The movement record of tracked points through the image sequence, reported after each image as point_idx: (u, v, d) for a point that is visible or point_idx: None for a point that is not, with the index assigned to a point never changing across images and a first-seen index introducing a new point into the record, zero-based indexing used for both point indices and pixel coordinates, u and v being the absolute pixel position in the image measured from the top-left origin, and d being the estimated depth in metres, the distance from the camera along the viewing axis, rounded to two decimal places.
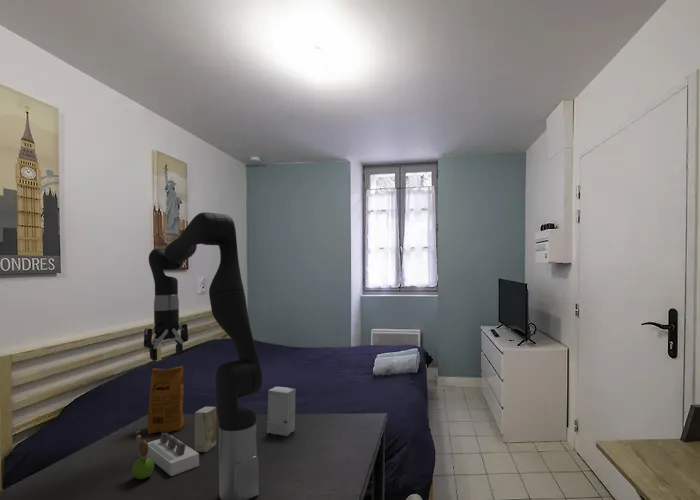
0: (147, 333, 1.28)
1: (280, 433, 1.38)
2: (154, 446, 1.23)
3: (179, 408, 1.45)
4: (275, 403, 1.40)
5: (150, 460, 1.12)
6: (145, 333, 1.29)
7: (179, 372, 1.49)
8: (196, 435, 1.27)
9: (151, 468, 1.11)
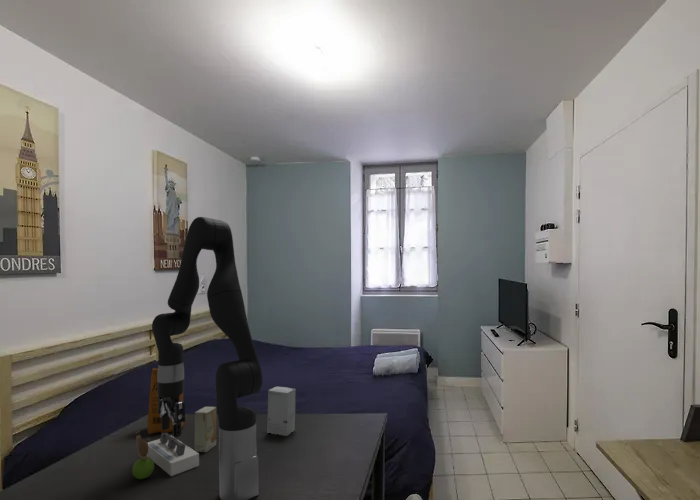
0: (182, 406, 1.19)
1: (280, 433, 1.38)
2: (154, 446, 1.23)
3: None
4: (275, 403, 1.40)
5: (150, 460, 1.12)
6: (178, 408, 1.18)
7: None
8: (196, 435, 1.27)
9: (151, 468, 1.11)
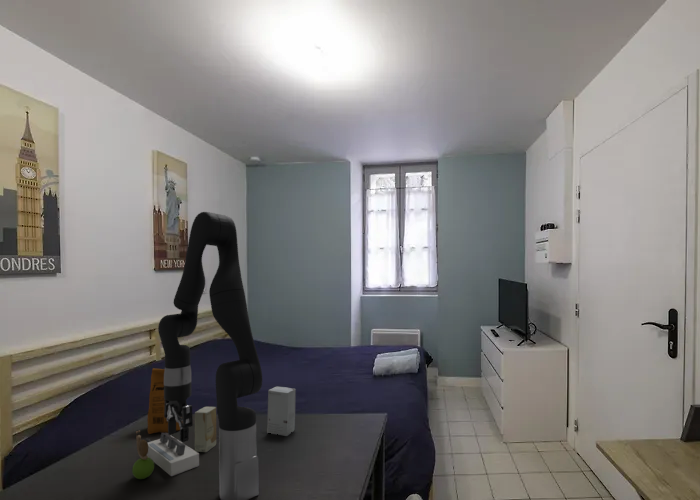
0: (190, 410, 1.15)
1: (280, 433, 1.38)
2: (154, 446, 1.23)
3: None
4: (275, 403, 1.40)
5: (150, 460, 1.12)
6: (186, 412, 1.14)
7: None
8: (196, 435, 1.27)
9: (151, 468, 1.11)
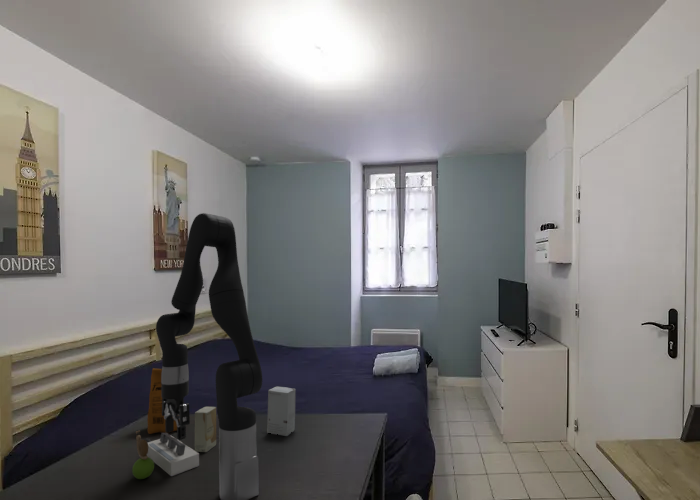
0: (187, 409, 1.16)
1: (280, 433, 1.38)
2: (154, 446, 1.23)
3: None
4: (275, 403, 1.40)
5: (150, 460, 1.12)
6: (183, 410, 1.15)
7: None
8: (196, 435, 1.27)
9: (151, 468, 1.11)
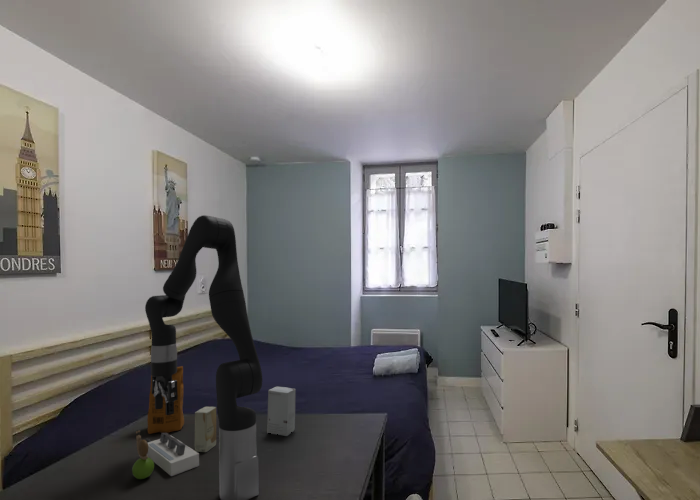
0: (175, 385, 1.22)
1: (280, 433, 1.38)
2: (154, 446, 1.23)
3: (179, 408, 1.45)
4: (275, 403, 1.40)
5: (150, 460, 1.12)
6: (171, 386, 1.21)
7: (179, 372, 1.49)
8: (196, 435, 1.27)
9: (151, 468, 1.11)
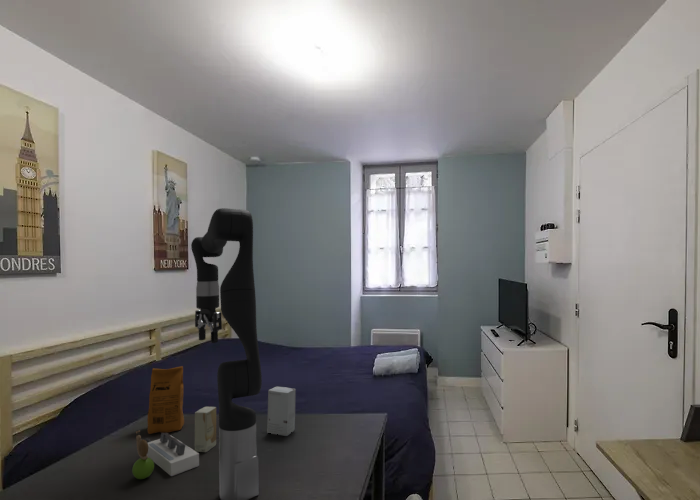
0: (219, 316, 1.36)
1: (280, 433, 1.38)
2: (154, 446, 1.23)
3: (179, 408, 1.45)
4: (275, 403, 1.40)
5: (150, 460, 1.12)
6: (216, 317, 1.35)
7: (179, 372, 1.49)
8: (196, 435, 1.27)
9: (151, 468, 1.11)
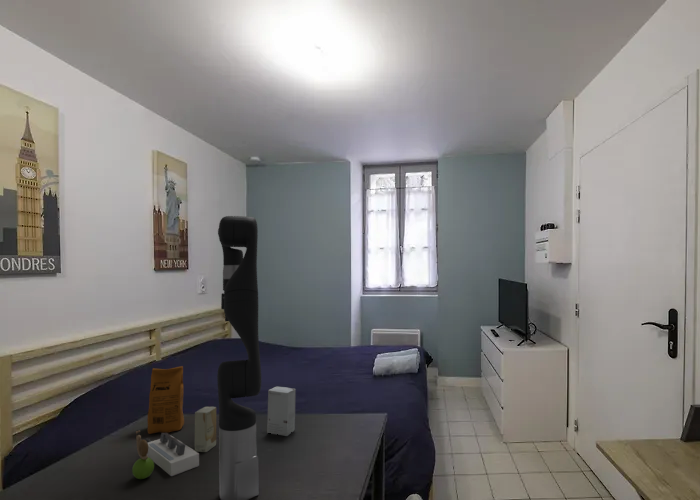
0: None
1: (280, 433, 1.38)
2: (154, 446, 1.23)
3: (179, 408, 1.45)
4: (275, 403, 1.40)
5: (150, 460, 1.12)
6: None
7: (179, 372, 1.49)
8: (196, 435, 1.27)
9: (151, 468, 1.11)
